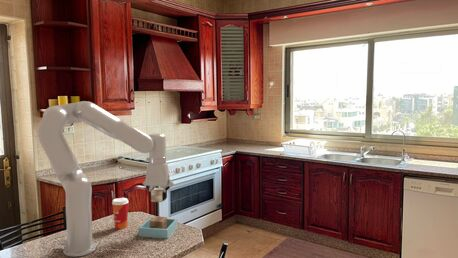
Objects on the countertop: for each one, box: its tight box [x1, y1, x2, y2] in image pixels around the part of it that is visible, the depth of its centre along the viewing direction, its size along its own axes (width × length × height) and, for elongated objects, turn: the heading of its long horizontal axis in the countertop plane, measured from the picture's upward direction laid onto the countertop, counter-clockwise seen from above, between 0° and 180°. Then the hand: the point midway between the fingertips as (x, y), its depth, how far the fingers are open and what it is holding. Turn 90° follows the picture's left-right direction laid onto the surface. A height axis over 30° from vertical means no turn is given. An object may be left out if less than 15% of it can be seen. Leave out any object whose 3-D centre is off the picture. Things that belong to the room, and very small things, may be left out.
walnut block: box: [150, 215, 168, 229], centre depth 159 cm, size 6×6×6 cm
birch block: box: [150, 187, 164, 203], centre depth 157 cm, size 5×5×5 cm
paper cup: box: [111, 197, 130, 230], centre depth 164 cm, size 8×8×14 cm
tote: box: [138, 217, 178, 239], centre depth 159 cm, size 14×14×4 cm
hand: (158, 199), depth 158 cm, fingers closed on birch block, 4 cm apart
